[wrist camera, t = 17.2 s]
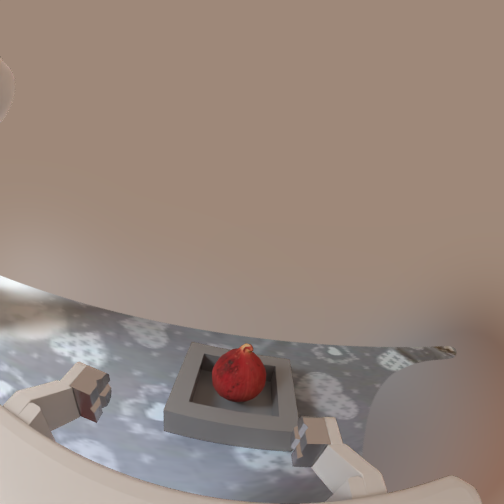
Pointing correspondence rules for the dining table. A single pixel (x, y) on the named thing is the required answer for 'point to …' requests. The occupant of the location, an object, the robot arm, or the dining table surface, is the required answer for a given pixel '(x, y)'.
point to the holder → (232, 405)
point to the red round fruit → (239, 374)
